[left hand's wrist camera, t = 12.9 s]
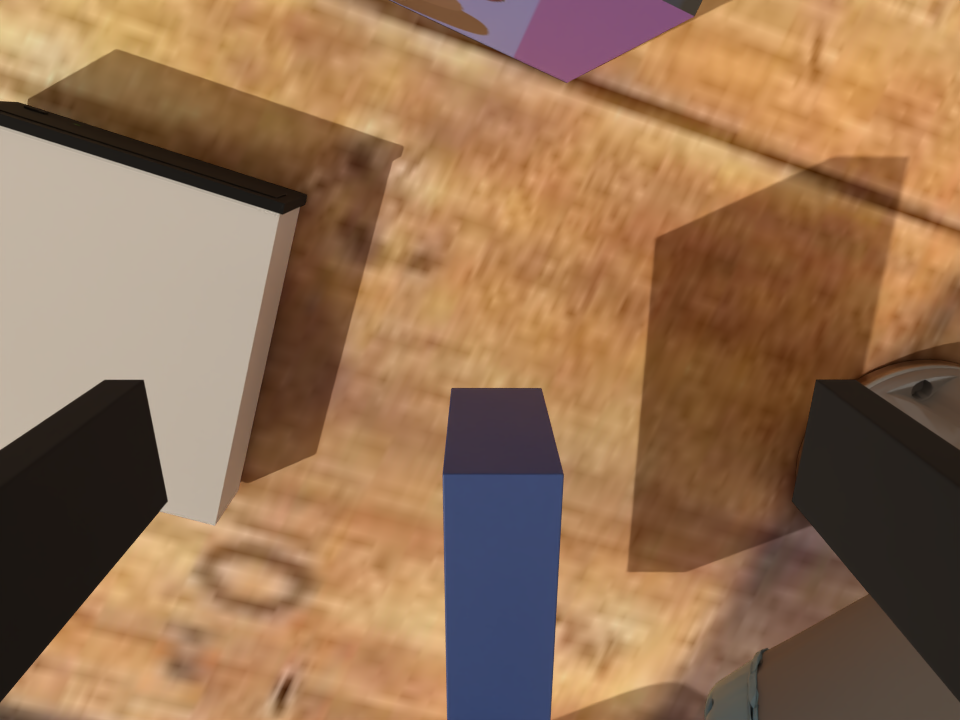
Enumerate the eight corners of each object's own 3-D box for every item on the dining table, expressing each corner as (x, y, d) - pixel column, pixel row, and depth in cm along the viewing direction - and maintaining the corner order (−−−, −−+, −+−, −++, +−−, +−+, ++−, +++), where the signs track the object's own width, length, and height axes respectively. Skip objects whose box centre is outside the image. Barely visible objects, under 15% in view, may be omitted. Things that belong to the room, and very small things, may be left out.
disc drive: (308, 192, 40) (284, 201, 35) (242, 489, 47) (216, 529, 42) (19, 100, 38) (-47, 96, 33) (-2, 423, 45) (-58, 458, 40)
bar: (451, 387, 33) (442, 474, 24) (541, 387, 33) (564, 474, 24) (456, 759, 42) (450, 916, 33) (527, 759, 42) (539, 916, 33)
